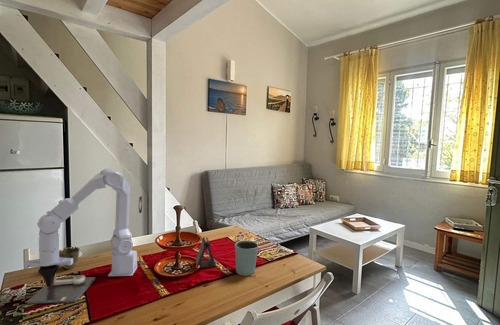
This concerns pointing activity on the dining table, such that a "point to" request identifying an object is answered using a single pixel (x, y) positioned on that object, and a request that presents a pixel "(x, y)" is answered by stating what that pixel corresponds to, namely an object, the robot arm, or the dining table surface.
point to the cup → (70, 255)
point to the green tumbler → (246, 257)
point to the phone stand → (200, 255)
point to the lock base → (61, 292)
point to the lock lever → (70, 280)
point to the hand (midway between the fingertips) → (49, 285)
